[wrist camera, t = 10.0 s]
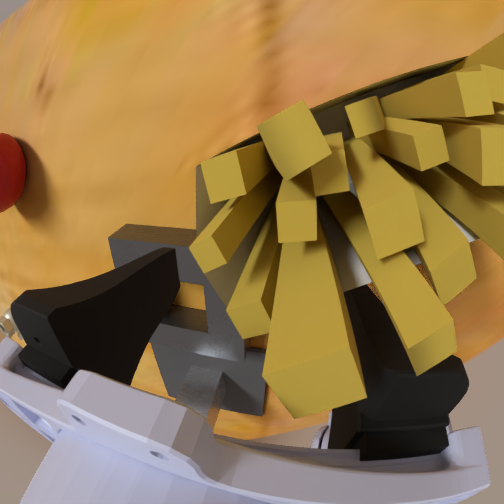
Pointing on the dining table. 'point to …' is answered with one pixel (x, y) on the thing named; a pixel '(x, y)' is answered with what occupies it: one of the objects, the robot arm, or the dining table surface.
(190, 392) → the steel peg
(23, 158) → the pomegranate
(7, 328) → the valve
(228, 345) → the socket block
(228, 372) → the rubber mat
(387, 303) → the french fries container
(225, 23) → the dining table surface
